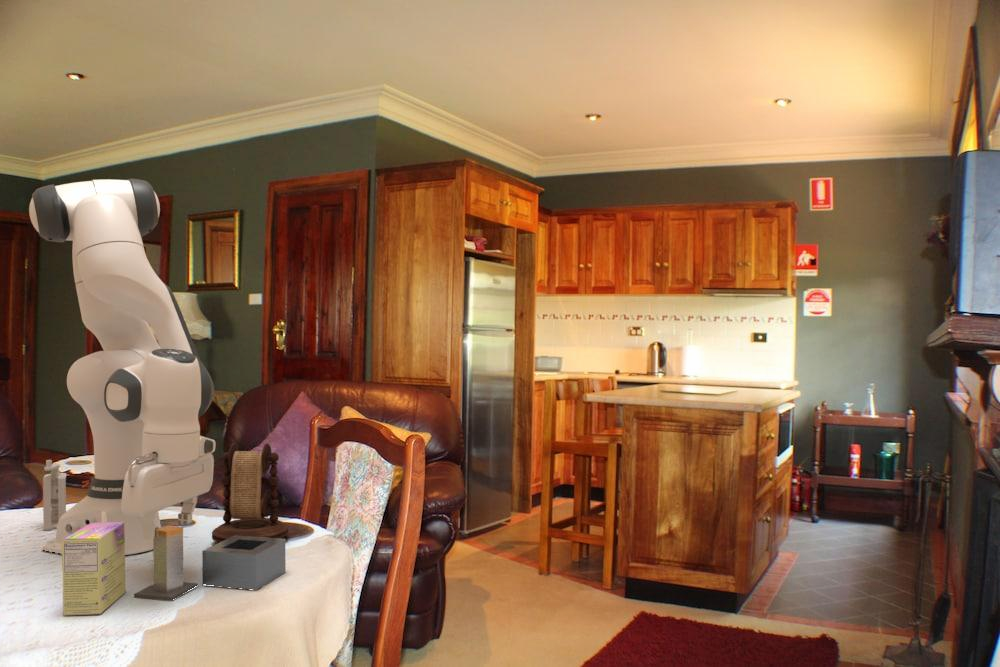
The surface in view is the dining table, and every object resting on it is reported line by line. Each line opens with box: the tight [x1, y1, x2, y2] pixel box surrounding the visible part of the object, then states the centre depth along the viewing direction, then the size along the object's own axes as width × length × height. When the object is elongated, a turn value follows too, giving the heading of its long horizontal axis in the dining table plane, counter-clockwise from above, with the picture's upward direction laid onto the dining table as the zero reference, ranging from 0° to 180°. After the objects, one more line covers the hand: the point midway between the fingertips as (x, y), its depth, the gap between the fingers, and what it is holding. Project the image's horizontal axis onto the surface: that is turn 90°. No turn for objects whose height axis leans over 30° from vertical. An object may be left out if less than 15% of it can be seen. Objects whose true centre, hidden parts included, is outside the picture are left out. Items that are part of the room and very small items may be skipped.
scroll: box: [211, 442, 289, 544], centre depth 163 cm, size 15×15×20 cm
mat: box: [133, 581, 199, 601], centre depth 133 cm, size 7×7×1 cm
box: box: [61, 522, 126, 617], centre depth 128 cm, size 10×6×12 cm, turn 5°
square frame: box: [201, 535, 286, 591], centre depth 140 cm, size 10×10×6 cm
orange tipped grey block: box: [152, 524, 184, 593], centre depth 133 cm, size 3×3×10 cm
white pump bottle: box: [42, 459, 67, 531], centre depth 176 cm, size 4×10×15 cm, turn 25°
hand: (168, 530), depth 134 cm, fingers open, 8 cm apart
